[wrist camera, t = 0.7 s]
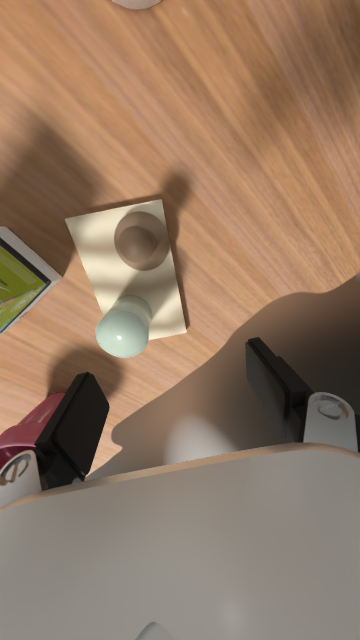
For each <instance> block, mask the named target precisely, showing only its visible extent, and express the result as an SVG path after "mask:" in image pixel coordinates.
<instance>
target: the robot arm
mask: <svg viewBox="0 0 360 640" xmlns="http://www.w3.org/2000/svg"><path fill="white" fill-rule="evenodd" d="M111 1H113V2H115V3H117V4H119V5H121V6H123V7H125V8H131V9H136V10H137V9H145V8H149V7H151V6H153V5H156V4H158V3H159V2H160V1H162V0H111ZM245 345H246V369H247V370H246V371H247V379H248V382H249V384H250V385H251V387H252V389H253V390H254V392H255V394H256V396H257V398H258V400H259V401H260V403H261V404H262V407H263V409H264V410H265V412H266V414H267V416H268V417H269V419H270V421H271V423H272V425H273V426H274V428H275V430H276V432H277V433H278V435H279V436H280V437H284V439H285V441H286V443H287V444H280V445H274V446H268V447H262V448H256V449H250V450H245V451H238V452H233V453H228V454H222V455H217V456H212V457H207V458H201V459H196V460H191V461H185V462H181V463H175V464H170V465H165V466H159V467H154V468H149V469H144V470H139V471H134V472H129V473H124V474H119V475H114V476H109V477H104V478H99V479H94V480H89V481H84V479H85V476H86V475H87V474H88V473H89V471H90V468H91V465H92V462H93V459H94V456H95V453H96V449H97V446H98V443H99V440H100V437H101V434H102V431H103V427H104V424H105V421H106V418H107V415H108V412H109V403H108V401H107V399H106V397H105V396H104V394H103V392H102V390H101V388H100V386H99V385H98V383H97V381H96V379H95V377H94V375H93V374H90V373H89V372H86V373H81V374H78V375H77V376H76V378H75V379H74V381H73V382H72V384H71V386H70V387H69V389H68V390H67V392H66V394H65V395H64V397H63V398H62V400H61V402H60V403H59V405H58V406H57V408H56V410H55V411H54V413H53V414H52V416H51V418H50V419H49V421H48V422H47V424H46V426H45V427H44V429H43V430H42V432H41V434H40V435H39V437H38V438H37V440H36V442H35V443H34V445H35V446H36V447H35V449H34V450H33V451H32V450H26V451H24V452H21V453H19V454H18V455H16V456H14V457H13V458H12V459H11V460H9V461H8V462H7V463H6V464H5V465H4V466H3V468H2V469H1V470H0V640H360V416H359V415H357V414H354V412H353V409H352V408H351V407H350V405H349V404H348V403H347V402H345V401H344V400H343V399H341V398H339V397H337V396H335V395H332V394H329V393H314V392H313V391H312V390H311V389H310V388H309V386H308V385H307V384H306V383H305V382H304V381H303V380H302V379H301V378H300V377H299V376H298V375H297V374H296V373H295V371H294V370H293V369H292V368H291V367H290V366H289V365H288V364H287V363H286V362H285V361H284V360H283V359H282V358H281V357H279V356H278V357H276V356H275V354H274V353H273V352H272V351H271V350H270V349H269V348H268V347H267V346H266V344H265V343H264V342H263V341H262V340H261V339H260V338H258V337H257V338H252V339H249V340H248V342H246V343H245ZM293 442H294V443H293ZM288 443H289V444H288Z"/></svg>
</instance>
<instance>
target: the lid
mask: <svg viewBox="0 0 360 640" xmlns="http://www.w3.org/2000/svg"><path fill="white" fill-rule="evenodd" d="M114 244H115V248H116V251H117V253H118V255H119V257H120V258H121V259H122V261H123V262H124V263H125V264H127V265H128V266H129V267H131V268H133V269H136V270H140V271H148V270H152V269H155V268H157V267H158V266H159V265H161V264H162V263H163V262H164V260H165V259H166V257H167V254H168V251H169V236H168V233H167V230H166V228H165V226H164V225H163V223H162V222H161V221H160V220H159V219H158V218H157V217H155V216H154V215H152V214H150V213H147V212H142V211H137V212H132V213H129V214H127V215H126V216H124V217H123V218H122V219H121V220H120V221H119V223H118V225H117V227H116V229H115V233H114Z"/></svg>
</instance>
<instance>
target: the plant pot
mask: <svg viewBox="0 0 360 640" xmlns="http://www.w3.org/2000/svg"><path fill="white" fill-rule="evenodd" d="M65 394H66V393H63V392H61V393H55V394H52V395H50V396H48V397H47V398H46V399H45V400H44V401H43V402H42V403H40V404H39V405H38V406H37V407H36V408H35V409H34V410H32V411H31V412H30V413H29V414H28V415H27V416H26V417H25V418H24V419H23V420H21V421H20V422H19V423H18V424H17V425H15V426H13V427H10V428H8V429H7V430H5V431H4V432H3V433H2V434H1V435H0V470H1V469H2V468H3V466H4V465H5V464H6V463H7V462H8V461H9V460H11V459H12V458H13V457H14V456H16V455H18V454H19V453H21V452H24V451H26V450H32V451H33V450H34V449H35V447H36V446H35V445H34V443H35V442H36V440H37V438H38V437H39V435H40V434H41V432H42V430H43V429H44V427H45V426H46V424H47V422H48V421H49V419H50V418H51V416H52V414H53V413H54V411H55V410H56V408H57V406H58V405H59V403H60V402H61V400H62V398H63V397H64V395H65Z"/></svg>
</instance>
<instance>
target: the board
mask: <svg viewBox="0 0 360 640" xmlns="http://www.w3.org/2000/svg"><path fill="white" fill-rule="evenodd" d="M137 211H142V212H147V213H150V214H152V215H154V216H155V217H157V218H158V219H159V220H160V221H161V222H162V223H163V225H164V226H165V228H166V230H167V225H166V220H165V215H164V209H163V204H162V199H159V200H154V201H149V202H144V203H139V204H134V205H130V206H125V207H120V208H115V209H110V210H105V211H100V212H95V213H90V214H85V215H80V216H75V217H70V218H65V221H66V224H67V226H68V229H69V231H70V234H71V236H72V239H73V241H74V244H75V246H76V249H77V251H78V254H79V256H80V259H81V261H82V264H83V266H84V268H85V271H86V273H87V276H88V278H89V281H90V283H91V286H92V288H93V291H94V293H95V296H96V298H97V301H98V303H99V306H100V308H101V311H102V313H103V316H105V315H106V314H107V312H108V311H109V309H110V308H111V307H112V305H113V304H114V303H115V301H116V300H117V299H119V298H120V297H122V296H125V295H135V296H138V297H141V298H142V299H144V300H145V301H146V302H147V303H148V304H149V306H150V308H151V311H152V317H151V323H150V329H149V339H148V340H151V339H157V338H162V337H167V336H172V335H177V334H182V333H187V332H186V326H185V321H184V316H183V310H182V305H181V300H180V294H179V289H178V284H177V279H176V273H175V268H174V263H173V257H172V252H171V247H170V241H169V251H168V254H167V257H166V259H165V260H164V262H163V263H162V264H161V265H159V266H158V267H157V268H155V269H152V270H148V271H140V270H136V269H133V268H131V267H129V266H128V265H127V264H125V263H124V262H123V261H122V259H121V258H120V257H119V255H118V253H117V251H116V248H115V244H114V233H115V229H116V227H117V225H118V223H119V221H120V220H121V219H122V218H123V217H124V216H126V215H127V214H129V213H132V212H137ZM167 233H168V231H167Z"/></svg>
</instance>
